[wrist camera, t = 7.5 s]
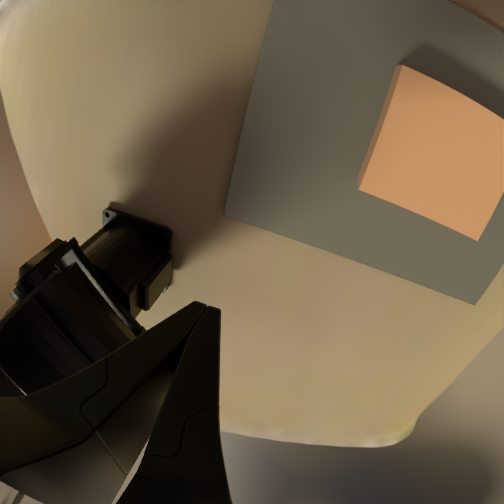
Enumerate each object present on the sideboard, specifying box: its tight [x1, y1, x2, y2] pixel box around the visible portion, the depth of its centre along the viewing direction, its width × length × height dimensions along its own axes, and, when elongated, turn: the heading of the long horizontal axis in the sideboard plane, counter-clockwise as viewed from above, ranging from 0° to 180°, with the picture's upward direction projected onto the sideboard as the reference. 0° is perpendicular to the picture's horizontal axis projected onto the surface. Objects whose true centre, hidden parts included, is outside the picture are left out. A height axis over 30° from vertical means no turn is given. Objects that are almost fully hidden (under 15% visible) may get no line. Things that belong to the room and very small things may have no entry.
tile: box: [357, 65, 504, 241], centre depth 14 cm, size 2×7×8 cm
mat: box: [224, 0, 504, 306], centre depth 16 cm, size 20×18×1 cm
